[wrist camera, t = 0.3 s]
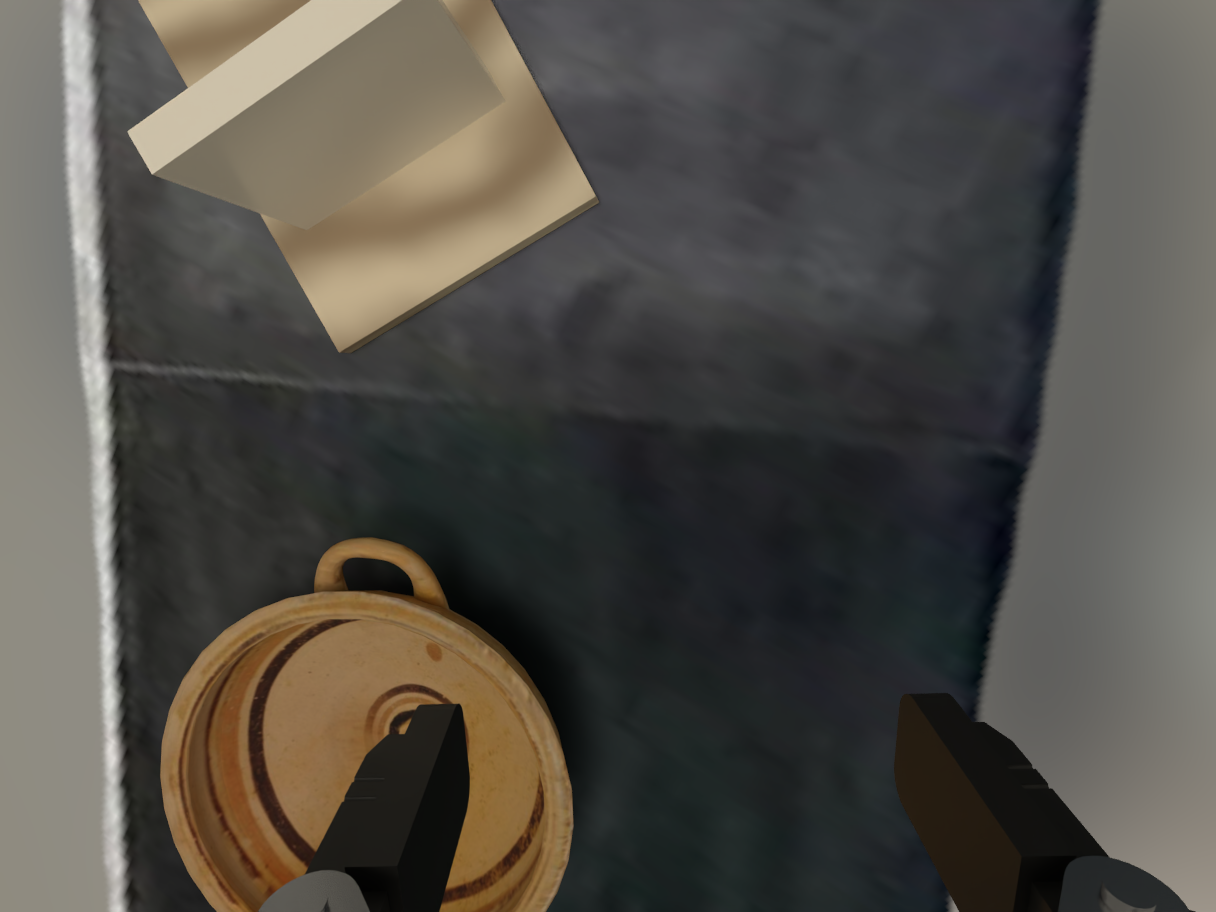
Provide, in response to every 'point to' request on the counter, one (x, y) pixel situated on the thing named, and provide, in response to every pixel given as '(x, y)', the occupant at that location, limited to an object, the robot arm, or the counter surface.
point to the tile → (321, 108)
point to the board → (409, 179)
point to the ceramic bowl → (358, 739)
